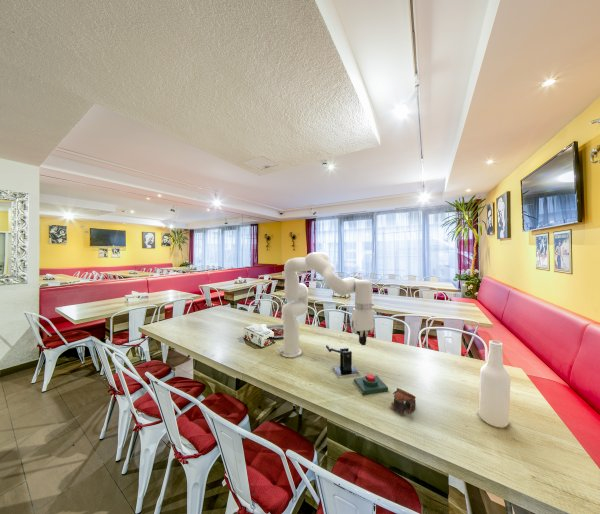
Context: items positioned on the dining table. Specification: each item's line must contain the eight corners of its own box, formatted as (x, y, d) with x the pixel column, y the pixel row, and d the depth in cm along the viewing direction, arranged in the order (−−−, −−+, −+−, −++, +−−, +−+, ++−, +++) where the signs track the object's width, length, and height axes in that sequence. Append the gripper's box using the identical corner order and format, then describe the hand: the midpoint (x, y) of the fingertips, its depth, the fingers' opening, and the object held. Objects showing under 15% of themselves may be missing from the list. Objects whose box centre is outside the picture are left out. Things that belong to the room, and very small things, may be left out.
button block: (363, 395, 106) (363, 386, 106) (353, 382, 116) (353, 374, 115) (388, 392, 108) (388, 383, 108) (376, 379, 118) (376, 371, 118)
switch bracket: (339, 378, 120) (338, 355, 119) (332, 369, 129) (332, 347, 128) (359, 375, 122) (359, 352, 121) (352, 366, 131) (352, 345, 130)
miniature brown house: (384, 404, 100) (390, 384, 103) (404, 413, 101) (409, 392, 104) (402, 417, 89) (408, 393, 91) (424, 426, 90) (429, 403, 92)
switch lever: (328, 352, 120) (329, 347, 120) (325, 348, 125) (326, 343, 125) (349, 358, 123) (350, 354, 123) (345, 354, 127) (347, 349, 128)
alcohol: (472, 413, 94) (475, 338, 92) (490, 410, 96) (493, 336, 94) (495, 430, 85) (498, 348, 84) (514, 426, 87) (518, 345, 86)
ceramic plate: (285, 342, 164) (285, 337, 164) (253, 337, 173) (253, 333, 173) (299, 329, 189) (299, 325, 188) (269, 326, 197) (269, 322, 197)
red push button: (368, 382, 110) (368, 378, 109) (365, 378, 113) (365, 374, 113) (376, 381, 110) (376, 377, 110) (372, 377, 114) (372, 373, 114)
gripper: (373, 303, 118) (373, 339, 119) (345, 304, 115) (344, 342, 116) (381, 307, 111) (381, 346, 112) (351, 309, 108) (351, 348, 109)
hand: (362, 344), depth 114 cm, fingers closed
